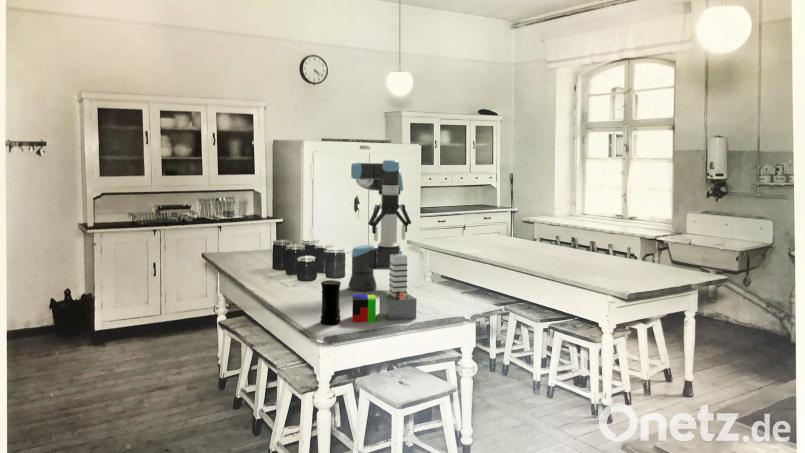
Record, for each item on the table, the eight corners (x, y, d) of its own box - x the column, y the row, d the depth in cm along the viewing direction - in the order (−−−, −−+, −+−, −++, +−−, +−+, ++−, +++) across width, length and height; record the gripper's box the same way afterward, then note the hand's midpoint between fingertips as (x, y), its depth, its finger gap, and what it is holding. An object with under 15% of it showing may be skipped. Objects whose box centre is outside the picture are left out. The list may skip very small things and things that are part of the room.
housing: (388, 320, 291) (389, 294, 289) (379, 313, 303) (379, 288, 301) (416, 318, 295) (416, 292, 294) (405, 311, 307) (406, 286, 306)
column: (393, 300, 294) (394, 256, 292) (388, 297, 300) (389, 254, 297) (406, 299, 296) (407, 256, 294) (401, 296, 302) (402, 253, 300)
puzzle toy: (352, 316, 297) (352, 294, 296) (374, 316, 298) (374, 294, 297) (352, 322, 287) (352, 300, 286) (375, 322, 288) (375, 299, 287)
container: (329, 318, 292) (329, 279, 290) (345, 322, 287) (345, 281, 285) (315, 323, 285) (315, 282, 283) (331, 326, 280) (331, 285, 277)
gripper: (367, 195, 293) (366, 242, 296) (418, 194, 302) (417, 240, 305) (361, 193, 300) (361, 239, 303) (412, 192, 309) (411, 237, 312)
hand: (389, 239), depth 304 cm, fingers open, 13 cm apart
